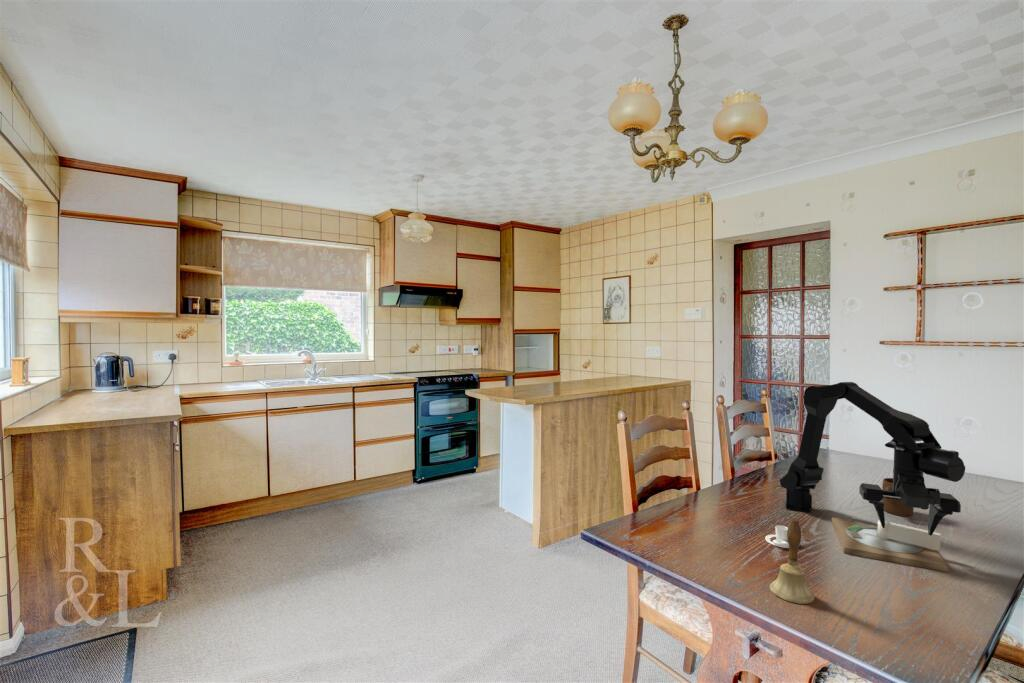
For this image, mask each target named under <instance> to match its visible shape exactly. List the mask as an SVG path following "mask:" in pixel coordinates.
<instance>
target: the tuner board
mask: <svg viewBox="0 0 1024 683" xmlns="http://www.w3.org/2000/svg"><path fill="white" fill-rule="evenodd" d="M831 525H832V527H833V530H834V532H835V534H836V537H837V539H838V542H839V544H840V547H841V549H842V552H843V554H846V555H853V556H856V557H857V556H858V557H864V558H868V559H869V558H870V559H873V560H878V561H879V560H880V561H885V562H891V563H897V564H901V565H906V566H913V567H919V568H924V569H929V570H934V571H941V572H946V573H948V571H949V566H948V564H947V563H946V562H945V560H944V559H943V557H942V556H941V555H940V554H939V553H938V552H937V550H934V549H930V548H926V547H921V546H917V545H913V544H909V543H905V542H901V541H897V540H893V539H889V540H884V539H880V538H878V537H877V526H874V525H870V524H865V523H861V522H857V521H853V520H851V519H847V518H846V519H845V518H838V517H833V516H832V517H831Z"/></svg>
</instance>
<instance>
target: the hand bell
mask: <svg viewBox="0 0 1024 683" xmlns="http://www.w3.org/2000/svg"><path fill="white" fill-rule="evenodd" d="M787 539H788V540H787V542H788V543H789V548H788V549H789V550H788V558H787V563H782V564H781V565H780V568H779V572H778V576H777V578H776V579H775V580H774V581H772V582H771V583H770V584H769V590H770V592H771V593H772V594H773V595H775V596H776V597H778V598H780V599H782V600H784V601H787V602H790V603H794V604H798V605H799V604H800V605H802V604H803V605H805V604H807V605H808V604H811V603H813V602H814V601H815V595H814V594H813V592H812V591H811V590H810V589H809V587H808V583H807V582H806V575H805V574H806V573H805V570H804V568H802V567H801V566H799V565H798V561H799V560H798V557H799V556H798V551H799V547H800V546H799V544H800V545H801V540H802V530H801V526H800V523H799V520H798V519H797V518H791V519H790V522H789V525H788V530H787Z"/></svg>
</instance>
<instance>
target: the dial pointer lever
mask: <svg viewBox="0 0 1024 683" xmlns="http://www.w3.org/2000/svg"><path fill="white" fill-rule="evenodd" d="M850 520H853V521H857V522H861V523H865V524H870V525H874V526H877V537H878V538H880V539H884V540H889V539H893V540H897V541H901V542H905V543H909V544H913V545H917V546H921V547H926V548H930V549H934V550H936V551H938V552H940V551H941V536H942V535H941V532H940V533H939V532H936V531H934V532H933V534H932V535H929V534H928V529H921V528H919V527H913V526H909V525H904V524H899V523H894V522H891V521H888V520H885V528H882V526H881V523H880V520H879V519H877V522H874V521H869V520H864V519H862V518H861V519H860V518H855V517H850Z"/></svg>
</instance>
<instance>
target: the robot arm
mask: <svg viewBox="0 0 1024 683" xmlns="http://www.w3.org/2000/svg"><path fill="white" fill-rule="evenodd" d="M843 399H844V400H846V401H847V402H850V403H851V404H853V405H854V406H856V408H858V409H859V410H861V411H863V412H864V413H866V414H867V415H868V416H870V417H871V418H873V419H874V420H876V421H878V423H879V424H881V426H882V428H883V430H884V431H885V432H886V433H887V434H888V435H889V436H890V437H891V440H890V441H888V442H887V443H885V444H884V446H885V447H886V448H889V449H893V468H892V473H893V474H892V478H893V485H892V489H893V491H889V490H882V487H880V485H879V484H871V483H866V482H865V483H863V482H862V483H861V484H860V485H859V488H858V489H859V490H858V492H859V495H860V497H862V499H863V500H866V501H867V502H868V503H869V504H871V505H873V506H874V509H875V512H876V514H877V516H878V520H880V523H881V526H882V528H885V521H886V518H885V511H884V503H883V502H882V500H883V498H891V499H898V500H902V504H903V505H904V506H906V507H909V508H912V507H914V508H915V509H921V510H924V511H925V510H928V520H927V521H928V522H927V531H928V534H929V535H932V534H933V532H935V530H936V529H937V526H938V524H939V523H940V522H941V521H942V519H944V517H946V516H948V515H950V516H953V513H958V514H959V513H961V507H962V505H961V501H959V500H958V499H957V498H956V497H954V496H953V495H952V494H951V493H945V492H940V489H939V488H934V487H926V484H925V477H924V474H925V475H927V476H931V477H935V478H938V479H943V480H945V481H949V482H950V481H951V482H954V483H957V482H959V481H961V480H962V479H963V478H964V475H965V472H966V466H965V463H964V461H963V459H962V458H961V457H960V456H959V455H960V453H959V452H958V451H955V450H948V449H943V448H942V446H941V444H940V443H939V441H938V440H937V439H936V437H935V435H934V434H933V433H932V431H931V430H930V425H929V423H928V422H927V421H925V420H924V419H922V418H920V417H917V416H915V415H913V414H912V413H911V414H910V413H908V412H904V411H900V410H897V409H895V408H893V406H890V404H889V405H888V404H887V403H886V402H884V401H882V400H881V399H879V398H878V397H876V396H874V395H873V394H871V392H868V391H867V390H865V389H863V388H862V387H860V385H859V384H858V383H855V382H853V381H841V382H838V383H836V384H835V383H834V384H829V385H828V384H822V385H809V386H807V387H806V388H805V390H804V392H803V406H804V408H805V411H806V417H805V423H804V426H803V431H802V436H801V441H800V445H799V450H798V454H797V456H796V457H795V459H794V460H793V461H792V462H791V464H790V466H789V468H788V470H787V474H785V475H784V476H783V477H781V478H780V479H779V483H780V484H779V485H780V487H781V488H784V489H785V500H784V506H785V509H786V510H793V511H800V512H805V513H810V512H811V509H812V507H813V495H812V493H811V490H815V489H816V487H817V484H819V483H820V481H822V480H823V473H824V467H821V466H820V465H819V462H818V457H819V453H820V447H821V444H822V443H821V442H822V438H823V434H824V430H825V424H826V421H827V417H828V415H829V414H831V412H832V411H833V410H834V409H835V407H836V405H837V402H838V400H843Z"/></svg>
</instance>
